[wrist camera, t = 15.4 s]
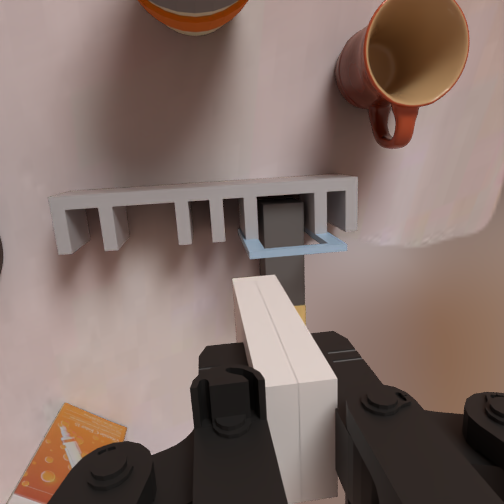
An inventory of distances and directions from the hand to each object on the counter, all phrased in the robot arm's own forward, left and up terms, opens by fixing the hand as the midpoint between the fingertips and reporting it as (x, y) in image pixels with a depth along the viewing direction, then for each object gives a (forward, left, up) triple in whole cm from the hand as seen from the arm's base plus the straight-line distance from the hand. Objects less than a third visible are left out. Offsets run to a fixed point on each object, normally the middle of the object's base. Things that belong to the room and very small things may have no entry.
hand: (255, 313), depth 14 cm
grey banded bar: (+6, -8, -30) cm, 31 cm away
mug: (+16, +11, -30) cm, 35 cm away
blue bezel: (+6, -3, -29) cm, 30 cm away
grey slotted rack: (-1, 0, -29) cm, 29 cm away
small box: (-18, -26, -30) cm, 43 cm away
